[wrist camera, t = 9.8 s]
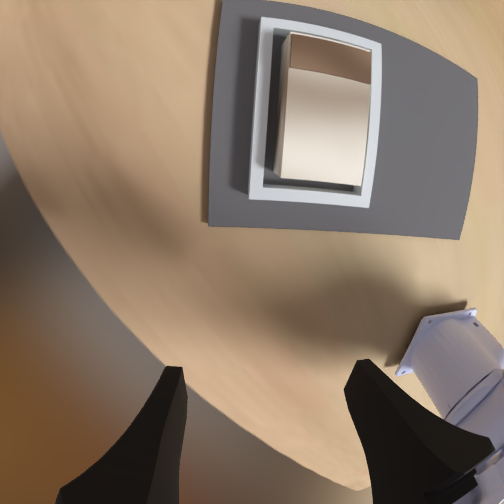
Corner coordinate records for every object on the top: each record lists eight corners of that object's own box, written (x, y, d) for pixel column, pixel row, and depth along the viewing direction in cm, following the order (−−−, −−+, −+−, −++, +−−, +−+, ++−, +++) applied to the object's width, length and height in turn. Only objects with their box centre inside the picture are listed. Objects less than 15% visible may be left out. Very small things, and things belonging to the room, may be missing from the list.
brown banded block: (343, 178, 16) (362, 186, 13) (273, 171, 15) (281, 178, 13) (352, 59, 13) (371, 49, 10) (281, 45, 12) (291, 30, 10)
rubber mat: (473, 78, 13) (477, 78, 12) (455, 238, 19) (459, 240, 19) (223, 1, 11) (223, -2, 10) (208, 223, 17) (208, 226, 16)
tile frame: (372, 48, 12) (381, 43, 11) (360, 203, 17) (368, 208, 16) (259, 24, 12) (261, 16, 10) (247, 194, 16) (249, 199, 15)
